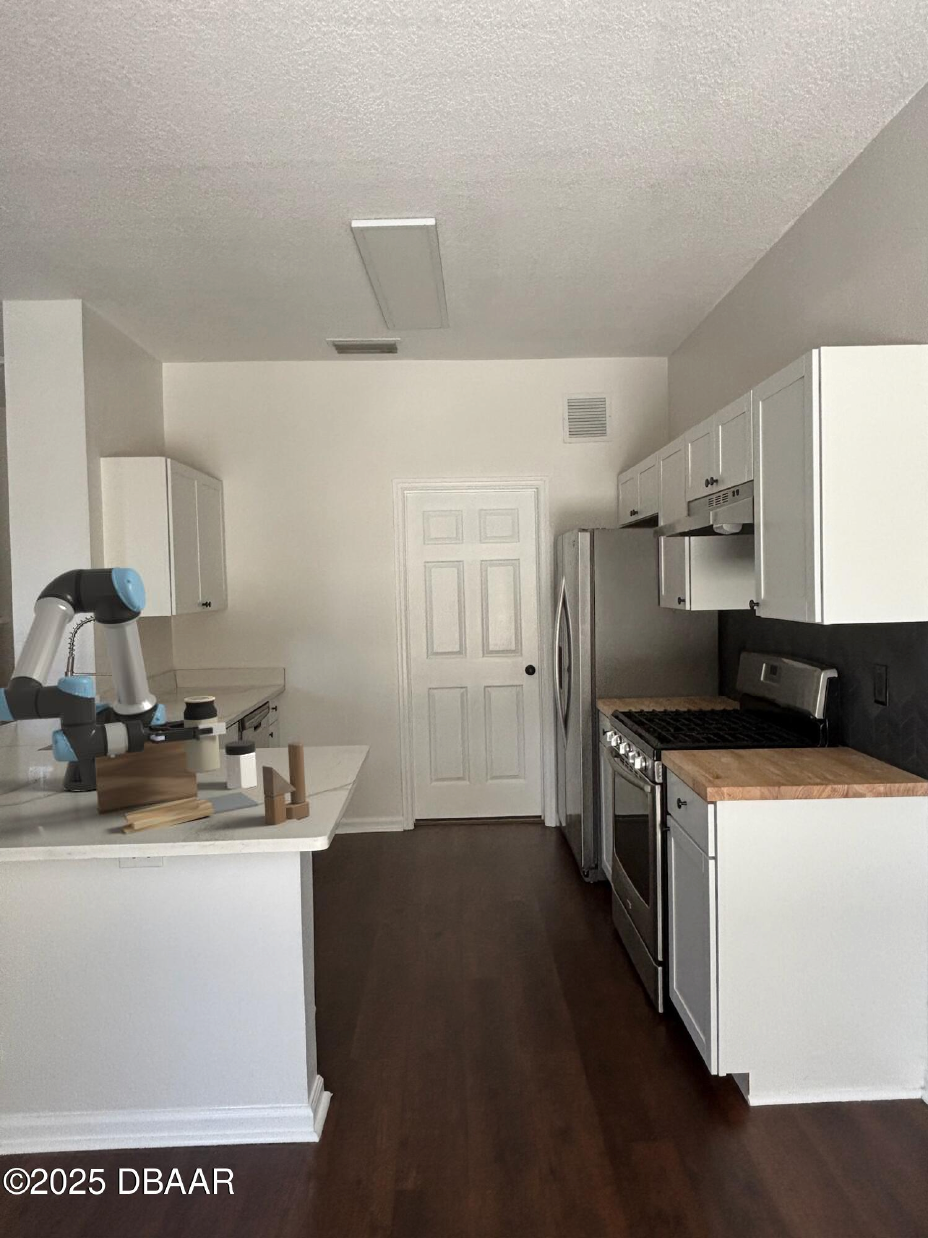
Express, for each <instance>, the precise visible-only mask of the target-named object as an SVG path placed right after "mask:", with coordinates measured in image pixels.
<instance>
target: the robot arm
mask: <svg viewBox="0 0 928 1238" xmlns="http://www.w3.org/2000/svg"><path fill="white" fill-rule="evenodd" d="M144 585H145V584H144V582H143V580H142V578H141V576H140V574H139V573H138V572H137V571H136V570H135V569H134V568H131V567H118V566H117V567H116V566H115V567H108V568H107V567H106V568H104V567H103V568H84V569H83V568H76V569H75V568H74V569H70V570H68V571H65V572H64V573H61V574H60V575H58V576H56V577H55V578H54V579H53V580H51V581H50V582H49V583H48V584H47V585H46V586H45V587H44V589H42V591H41V592H40V594H38V597H37V598H36V601H35V603H34V606H33V612H34V615H35V616H34V618H33V621H32V624H31V626H30V628H29V631H28V634H27V637H26V638H25V641H24V644H23V647H22V649H21V652H20V655H19V656H18V660H17V662H16V664H15V667H14V670H13V672H12V675H11V677H10V680H9V682H8V685H7V687H1V688H0V722H16V721H17V722H18V721H29V720H30V721H31V720H49V719H59V723H60V728H59V729H57V730H53V731H52V733H51V748H52V755H53V758H54V760H55V761H56V762H59V763H61V762H62V763H63V762H67V767H66V769H65V773H64V776H63V780H62V784H63V785H62V787H64V788H65V789H67V790H92V791H94V790H93V789H97V783H96V767H95V758H97V757H104V756H110V755H111V757H112V758H114V757H115V754H117V755H118V754H124V753H125V751H126V752H127V753H134V752H141V751H143V749H144V743H145V742H152V743H155V744H159V743H165V742H174V741H183V740H193V739H195V740H196V739H197V741H199V740H200V737H204V736H211V735H218V736H219V735H224V734H225V735H226V734H227V727H226V726H227V725H226V722H225V721H224V722H218V723H215V724H208V725H200V726H198V727H188V728H184V719H181V720H175V721H169V722H166V718H167V717H166V715H167V713H166V707H165V705H164V704H162V703H158V702H157V698H156V696H155V695H154V694H151V693H150V690H149V685H148V678H147V674H146V673H147V672H146V668H145V662H144V656H143V652H142V646H141V640H140V635H139V629H138V623H137V620H138V619H139V618H140V616H141V614H142V611H143V610H144V609H145V608H146V602H147V598H146V590H145V586H144ZM90 613H91V614H92V613H93V616H94V621H95V622H96V623H97V624H98V625H100V626H101V627H102V629H103V630H102V631H103V635H104V639H105V645H106V650H107V654H108V656H107V657H108V660H109V666H110V670H111V676H112V680H113V684H114V685H113V686H114V691H115V695H116V700H115V701H114V702H113V705H112V706H111V704H110V702H109V701H100V702H96V693H95V686H94V680H93V678H92V677H91V676H89V675H84V674H83V675H71V676H70V675H69V676H62V677H59V679H58V680H57V685H46V684H47V681H48V679H49V675H50V673H51V670H52V667H53V664H54V661H55V658H56V656H57V653H58V650H59V648H60V645H61V642H62V639H63V637H64V633H65V630H66V629H67V626H68V625H69V624H70V623H71V622H73V619H74V618H75V615H78V614H90ZM64 788H63V789H64Z"/></svg>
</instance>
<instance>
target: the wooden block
mask: <svg viewBox="0 0 928 1238" xmlns="http://www.w3.org/2000/svg"><path fill="white" fill-rule="evenodd" d="M287 751H288V752H287V754H288V755H287V756H288V770H289V771H288V773H289V781H288V780H287V779H286V778H285V777H283V775H281V774H280V773H279V772H278V771H277V770H276V769H274V767H272V766H271V767H270V766H266V765H262V769H261V770H262V785H263V788H262V789H263V796H264V798H263V799H264V800H263V802H264V817H265V818H264V820H265V824H267V825H272V826H277V825H280V824H283V823H286V822H287V821H289V820H290V821H291V820H297V821H298V820H301V819H304V818H306V817H309V816H310V801H309V800H308V801H307V796H306V791H307V790H306V773H305V755H304V754H305V753H304V751H305V750H304V742H302V741H293V742H289V743H288V745H287ZM289 793H290V802H288V803H286V795H287V794H289Z"/></svg>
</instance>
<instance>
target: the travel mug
mask: <svg viewBox="0 0 928 1238" xmlns="http://www.w3.org/2000/svg"><path fill="white" fill-rule="evenodd" d="M215 700H216V697H215V696H211V695H199V696H191V697H187V698H186V697H185V698H184V699H183V702H184V704H185V709H184V711H183V720H184V728H188V727H198V726H200V725H208V724H215V723H219V721H218V720H219V719H218V709H217V708H216V706H215ZM185 748H186V766H187V771H189V772H192V773H196V774H202V773H203V774H204V773H210V772H213V771H216V770H218V769H220V768H221V761H220V760H221V759H220V743H219V735H211V736H204V737H200V740H199V741H197V739H196V740H195V739H193V740H185Z"/></svg>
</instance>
